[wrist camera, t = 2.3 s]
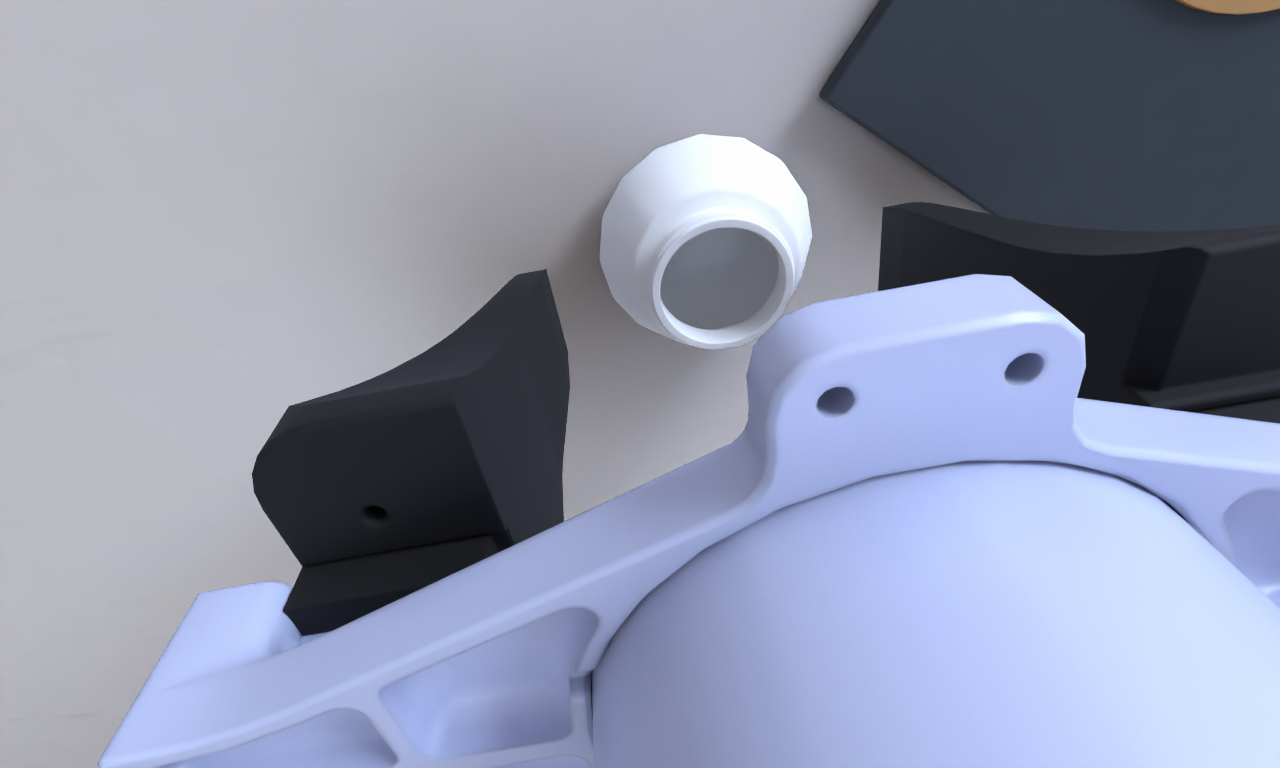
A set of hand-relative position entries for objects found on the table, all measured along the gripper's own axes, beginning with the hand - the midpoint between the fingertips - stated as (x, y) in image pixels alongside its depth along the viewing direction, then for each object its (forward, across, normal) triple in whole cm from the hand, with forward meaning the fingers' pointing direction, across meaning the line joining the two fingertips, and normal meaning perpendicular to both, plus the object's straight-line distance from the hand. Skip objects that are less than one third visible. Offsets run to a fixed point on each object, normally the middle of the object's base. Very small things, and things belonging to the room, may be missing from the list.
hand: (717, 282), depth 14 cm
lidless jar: (+3, 0, 0) cm, 3 cm away
